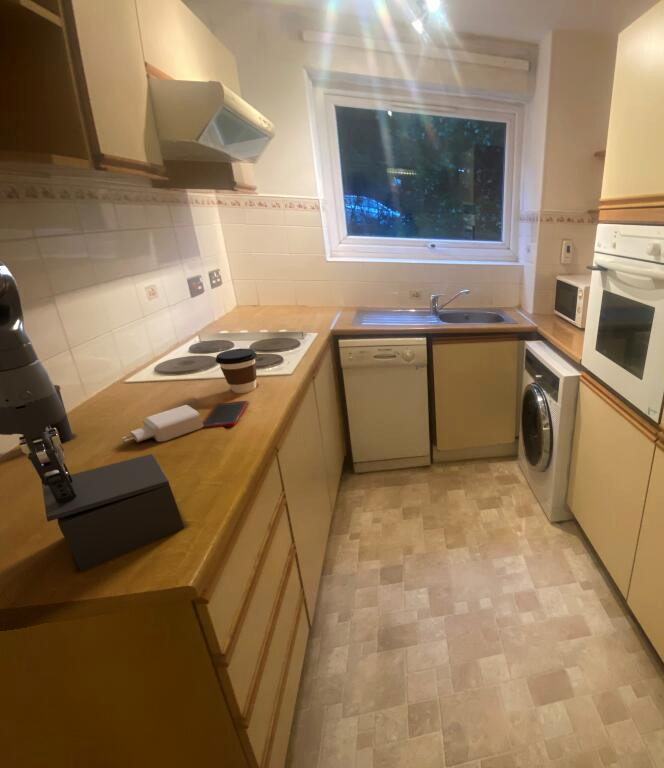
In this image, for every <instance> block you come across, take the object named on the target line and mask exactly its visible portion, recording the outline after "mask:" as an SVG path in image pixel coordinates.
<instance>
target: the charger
mask: <svg viewBox="0 0 664 768" xmlns="http://www.w3.org/2000/svg"><path fill="white" fill-rule="evenodd" d="M203 422H204V421H203V419H202V416H201V413H200V412H199V411H197V410H196V409H195V408H193V407H191V406H190V405H188V404H184V405H180V406H178V407H174V408H171V409H167V410H165V411H162V412H159V413H156V414H152V415H150V416H147V417H145V418H144V419H143V420H142V423H143V425H144V426H143V427H139V428H137V429H134V430H131V431H130V435H126V436H123V437H122V438H121V440H122V441H123V442H124V443H127V442H129V441H132V440H134V441H136V442H137V443H140V442H142V441H146V440H149V439H151V438H153V439H154V440H155V441H156V442H159V443H160V442H166V441H170V440H172V439H176V438H179V437H181V436H184V435H186V434H189V433H193V432H195V431H198V430H201V429H204V428H203V426H204V425H203Z"/></svg>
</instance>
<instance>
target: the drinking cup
mask: <svg viewBox="0 0 664 768" xmlns="http://www.w3.org/2000/svg"><path fill="white" fill-rule="evenodd" d="M53 385H54V387H55V389H56V392H57V394H58V396H59V398H60V400H61V403H62V405H63V407H64V409H65V412H66V415H65V417H64V418H63V419H62V420H60V421H59V422H57V423H55V424H51V425H50V427H51V429H52V428H56V429H57V431H58V434H59V437H60V438H59V439H60V441H61V444H64V443H67V442H70V441H71V440H72V439H73V438H74V435H73V432H72V429H71V425H70V422H69V417H68V414H67V411H66V407H65V405H64V404H65V403H64V400H63V397H62V394H61V389H62V388H61V386H60V385H57V384H53Z"/></svg>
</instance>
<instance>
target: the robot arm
mask: <svg viewBox="0 0 664 768" xmlns="http://www.w3.org/2000/svg"><path fill="white" fill-rule="evenodd" d="M23 309H24V308H23V305H22V299H21V295H20V290H19V288H18V283H17V280H16V278H15V277H14V274H13V273H12V272H11V270H10V269H9V267H8V266H7V265H6V264H5V263H4V262H3V261H2V260H0V435H1V436H13V435H22V436H18V439H19V443H18V444H19V447H20V449H21V452H22V453H23V454H25V455H26V456H27V459H28V461H29V463H30V465H31V467H32V470H34V471H36V473H37V475H38V477H39V479H40V481H41V485H42V484H44V485H45V486H47V485H48V486H49V488H50V490H51V492H52V494H53V496H54V498H55V500H56V502H57V503H63V502H66V501H69V500H72V499H74V498H76V493H75V491H74V489H73V487H72V485H71V483H72V482H73V480H72V477H71V475H72V474H71V473H70V471H69V469H68V467H67V464H66V463H65V462H66V460H67V459H66V456H65V454H64V451H65V450H64V447H63V443H61V441H60V439H59V438H60V437H59V434H58V431H57V429H56V428H52V429H51V427H50V425H51V424H55V423H57V422H59V421H60V420H62V419H63V418H64V417H65V415H66V414H67V411H66V408H65V409H64V407H65V406H64V407H63V405H62V403H61V400H60V398H59V396H58V394H57V392H56V389H55V387H54V385H55V384H54V383H53V380H52V379H51V376H50V374H49V372H48V371H47V368H45V366H44V364H43V363H42V361H41V359H40V358H39V356H38V355H39V354H38V353H37V351H36V349H35V346H34V344H33V342H32V340H31V338H30V336H29V334H28V332H27V330H26V326H25V316H24V310H23ZM65 411H66V412H65ZM54 470H58V471H59V472H58V473H55V474H51V475H47V472H51V471H54Z"/></svg>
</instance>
